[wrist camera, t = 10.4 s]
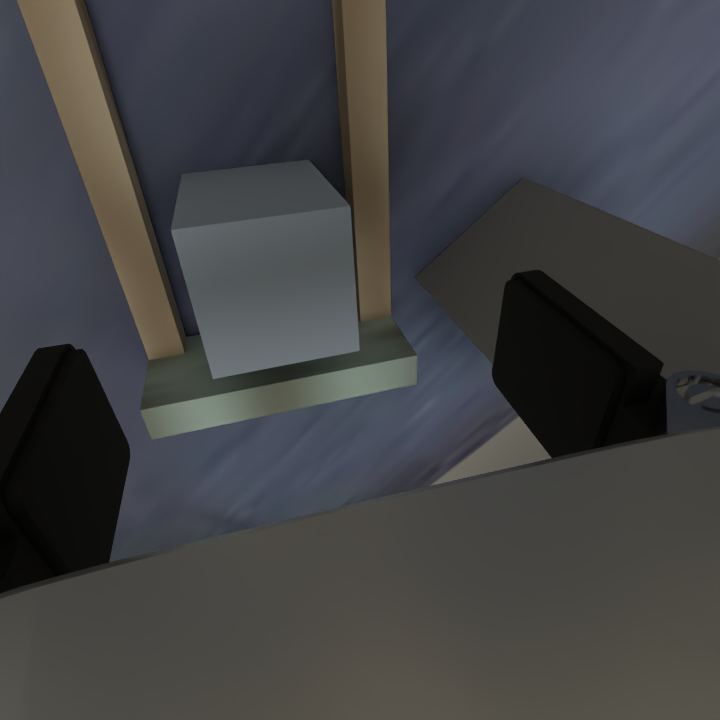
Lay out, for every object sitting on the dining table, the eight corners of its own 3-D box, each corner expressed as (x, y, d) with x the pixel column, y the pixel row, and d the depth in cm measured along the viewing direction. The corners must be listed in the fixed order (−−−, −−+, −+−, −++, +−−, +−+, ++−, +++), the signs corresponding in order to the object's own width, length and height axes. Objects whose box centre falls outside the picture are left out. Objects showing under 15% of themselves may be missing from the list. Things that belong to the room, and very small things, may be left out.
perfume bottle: (481, 351, 27) (792, 696, 13) (415, 277, 24) (748, 648, 9) (577, 269, 26) (1045, 553, 12) (523, 177, 22) (1117, 426, 8)
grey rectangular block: (308, 159, 19) (350, 205, 14) (320, 273, 22) (359, 350, 17) (181, 173, 18) (171, 230, 13) (211, 290, 21) (213, 379, 16)
